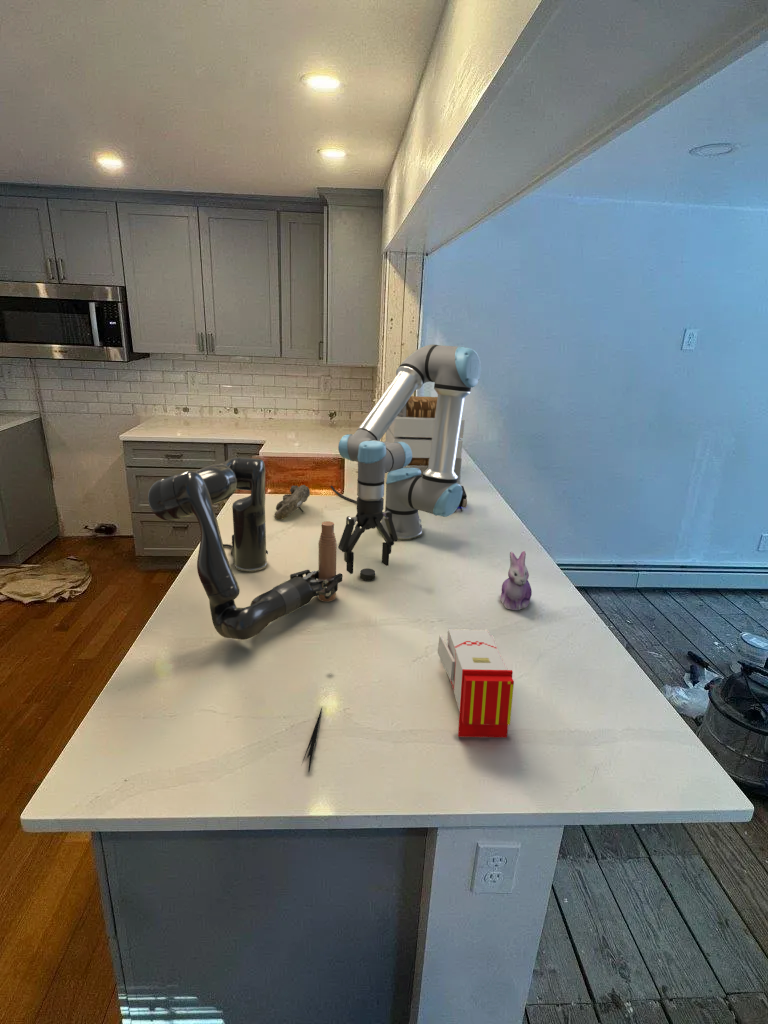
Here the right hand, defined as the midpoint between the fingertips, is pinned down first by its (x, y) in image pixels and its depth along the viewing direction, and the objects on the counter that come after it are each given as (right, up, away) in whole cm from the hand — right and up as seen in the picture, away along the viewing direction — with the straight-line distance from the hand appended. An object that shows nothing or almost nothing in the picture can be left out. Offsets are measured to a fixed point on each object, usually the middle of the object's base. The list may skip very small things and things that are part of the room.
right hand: (367, 568), depth 166 cm
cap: (0, -1, 0) cm, 1 cm away
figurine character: (+34, +18, +64) cm, 75 cm away
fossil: (-30, +16, +51) cm, 61 cm away
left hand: (-9, -1, -11) cm, 14 cm away
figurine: (+41, -9, -10) cm, 43 cm away
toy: (+23, -21, -47) cm, 56 cm away
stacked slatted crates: (+22, +35, +109) cm, 117 cm away
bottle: (-11, -7, -11) cm, 17 cm away
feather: (-8, -24, -57) cm, 62 cm away
